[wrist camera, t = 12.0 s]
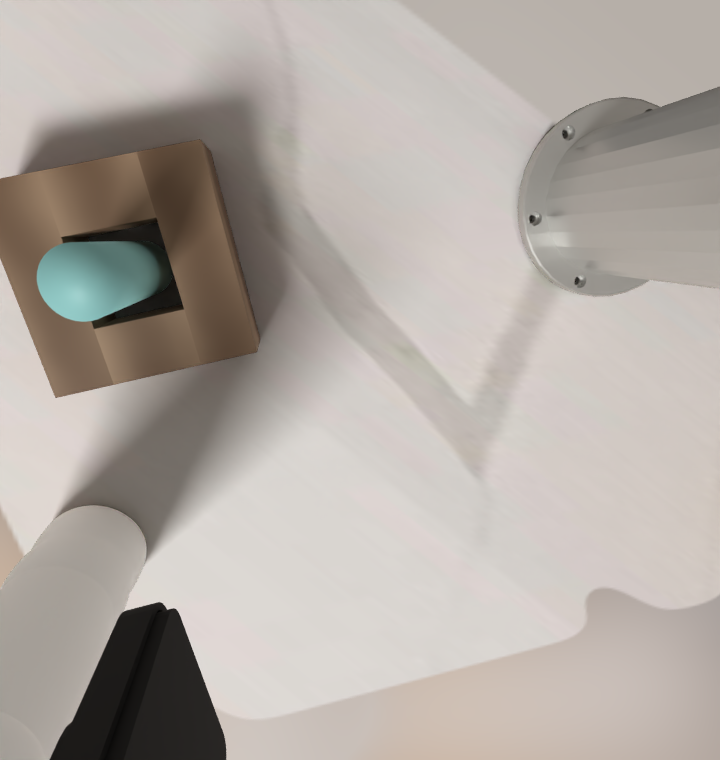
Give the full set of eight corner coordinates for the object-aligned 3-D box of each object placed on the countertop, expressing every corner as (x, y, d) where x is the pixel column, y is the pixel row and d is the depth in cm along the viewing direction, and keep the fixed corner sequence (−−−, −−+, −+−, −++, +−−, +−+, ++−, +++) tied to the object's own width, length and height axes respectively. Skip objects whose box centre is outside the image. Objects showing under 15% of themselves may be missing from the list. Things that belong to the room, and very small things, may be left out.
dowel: (163, 235, 33) (105, 234, 22) (179, 289, 34) (131, 312, 23) (109, 246, 33) (24, 251, 22) (126, 300, 34) (53, 329, 23)
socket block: (210, 150, 32) (199, 139, 28) (260, 339, 35) (257, 351, 31) (10, 190, 31) (-29, 184, 27) (81, 379, 34) (55, 398, 31)
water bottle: (38, 503, 36) (-441, 1018, 12) (145, 498, 37) (-112, 969, 13) (52, 590, 38) (-342, 1183, 14) (153, 583, 39) (-60, 1131, 15)
